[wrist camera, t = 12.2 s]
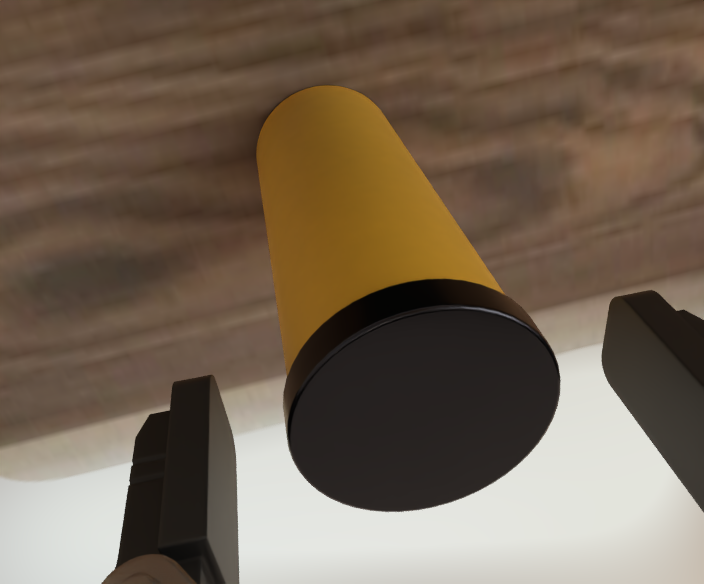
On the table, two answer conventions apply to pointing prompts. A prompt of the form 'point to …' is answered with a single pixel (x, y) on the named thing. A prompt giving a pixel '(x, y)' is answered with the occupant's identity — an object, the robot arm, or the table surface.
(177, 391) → the robot arm
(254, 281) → the table surface
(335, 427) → the tin
